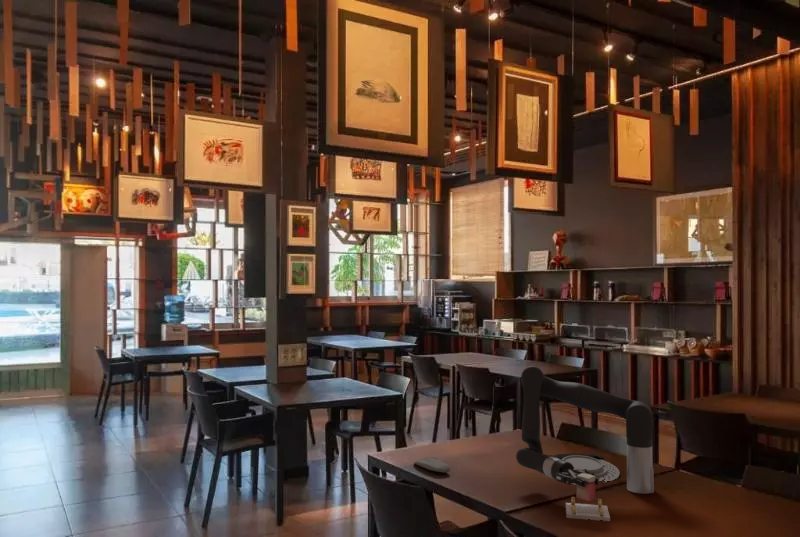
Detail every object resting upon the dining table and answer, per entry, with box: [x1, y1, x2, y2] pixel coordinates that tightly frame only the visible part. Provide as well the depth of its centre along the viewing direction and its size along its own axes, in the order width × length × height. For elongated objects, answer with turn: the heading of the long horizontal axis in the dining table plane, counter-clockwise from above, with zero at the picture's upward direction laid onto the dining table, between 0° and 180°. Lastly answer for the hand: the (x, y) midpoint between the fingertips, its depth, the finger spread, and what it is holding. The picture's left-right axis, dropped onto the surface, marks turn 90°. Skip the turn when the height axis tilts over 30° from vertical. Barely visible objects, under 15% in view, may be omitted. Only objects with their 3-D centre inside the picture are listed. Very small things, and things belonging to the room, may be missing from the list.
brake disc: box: [549, 453, 621, 483], centre depth 273 cm, size 32×30×5 cm
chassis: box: [565, 496, 611, 522], centre depth 222 cm, size 14×12×4 cm
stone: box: [413, 456, 451, 473], centre depth 276 cm, size 24×4×10 cm
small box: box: [575, 473, 596, 502], centre depth 223 cm, size 5×4×8 cm
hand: (591, 482), depth 220 cm, fingers closed on small box, 5 cm apart
